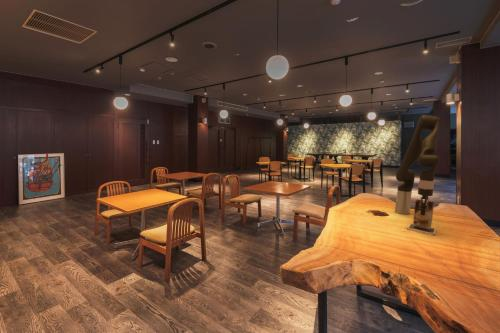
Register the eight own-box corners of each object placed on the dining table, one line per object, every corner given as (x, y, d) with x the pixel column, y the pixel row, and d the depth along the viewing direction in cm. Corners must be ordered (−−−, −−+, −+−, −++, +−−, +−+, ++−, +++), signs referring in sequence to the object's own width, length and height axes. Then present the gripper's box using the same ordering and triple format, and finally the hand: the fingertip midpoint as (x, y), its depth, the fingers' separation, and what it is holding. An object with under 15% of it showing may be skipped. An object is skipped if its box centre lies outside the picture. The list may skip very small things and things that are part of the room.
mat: (406, 229, 154) (406, 228, 153) (409, 224, 163) (409, 223, 163) (434, 235, 145) (434, 233, 145) (435, 229, 154) (436, 228, 154)
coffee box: (412, 225, 154) (414, 201, 152) (414, 223, 159) (416, 199, 157) (430, 229, 148) (433, 203, 146) (431, 227, 153) (434, 201, 151)
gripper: (419, 184, 158) (417, 209, 160) (417, 188, 147) (414, 215, 149) (434, 186, 154) (431, 212, 156) (432, 190, 143) (429, 217, 145)
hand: (423, 213), depth 152 cm, fingers closed on coffee box, 6 cm apart
